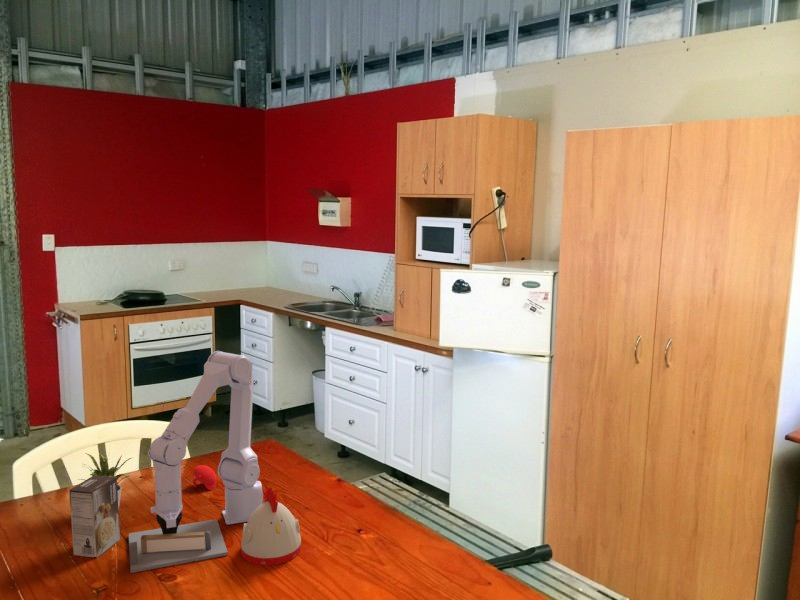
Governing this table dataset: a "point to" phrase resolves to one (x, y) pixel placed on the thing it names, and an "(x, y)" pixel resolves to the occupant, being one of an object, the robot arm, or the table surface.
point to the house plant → (107, 471)
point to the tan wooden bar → (172, 542)
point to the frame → (168, 558)
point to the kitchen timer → (271, 533)
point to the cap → (205, 477)
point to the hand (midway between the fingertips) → (170, 543)
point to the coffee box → (94, 515)
